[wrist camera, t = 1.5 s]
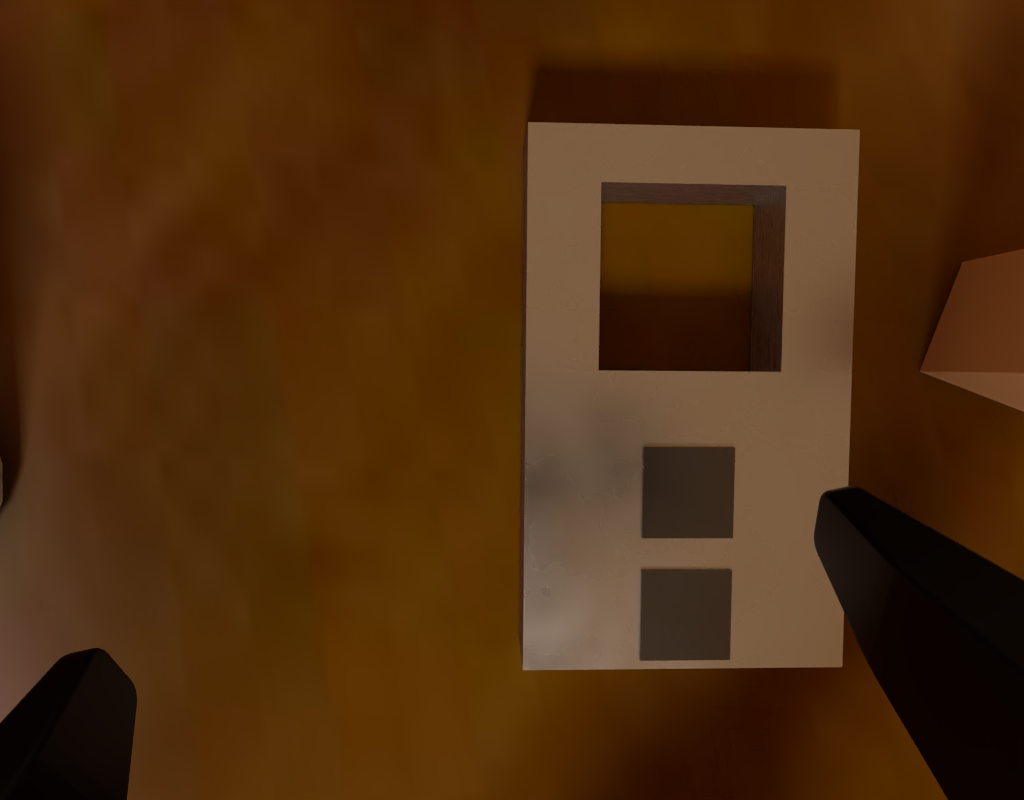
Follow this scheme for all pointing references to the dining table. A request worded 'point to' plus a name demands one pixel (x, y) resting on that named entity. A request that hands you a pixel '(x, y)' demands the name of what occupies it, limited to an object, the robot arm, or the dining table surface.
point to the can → (1, 484)
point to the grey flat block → (684, 411)
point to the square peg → (983, 330)
